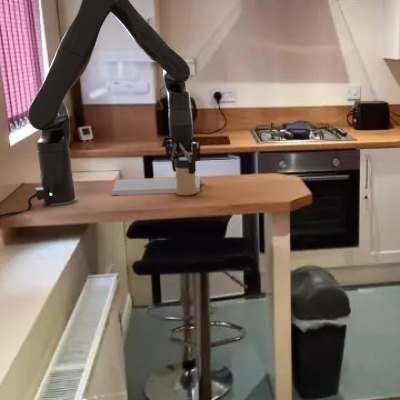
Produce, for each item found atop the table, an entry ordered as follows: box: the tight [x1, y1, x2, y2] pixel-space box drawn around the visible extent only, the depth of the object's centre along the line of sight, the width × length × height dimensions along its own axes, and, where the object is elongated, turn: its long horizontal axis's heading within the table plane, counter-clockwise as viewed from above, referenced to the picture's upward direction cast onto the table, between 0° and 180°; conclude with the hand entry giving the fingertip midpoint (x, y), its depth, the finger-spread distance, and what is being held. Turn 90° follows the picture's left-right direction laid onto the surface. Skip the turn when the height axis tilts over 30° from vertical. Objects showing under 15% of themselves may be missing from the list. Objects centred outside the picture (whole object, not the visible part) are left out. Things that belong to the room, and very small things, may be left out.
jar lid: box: [175, 156, 192, 168], centre depth 199 cm, size 7×7×2 cm
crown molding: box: [111, 176, 203, 197], centre depth 208 cm, size 29×12×4 cm, turn 97°
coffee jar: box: [175, 167, 197, 196], centre depth 200 cm, size 6×6×11 cm
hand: (184, 172), depth 199 cm, fingers closed on jar lid, 6 cm apart
